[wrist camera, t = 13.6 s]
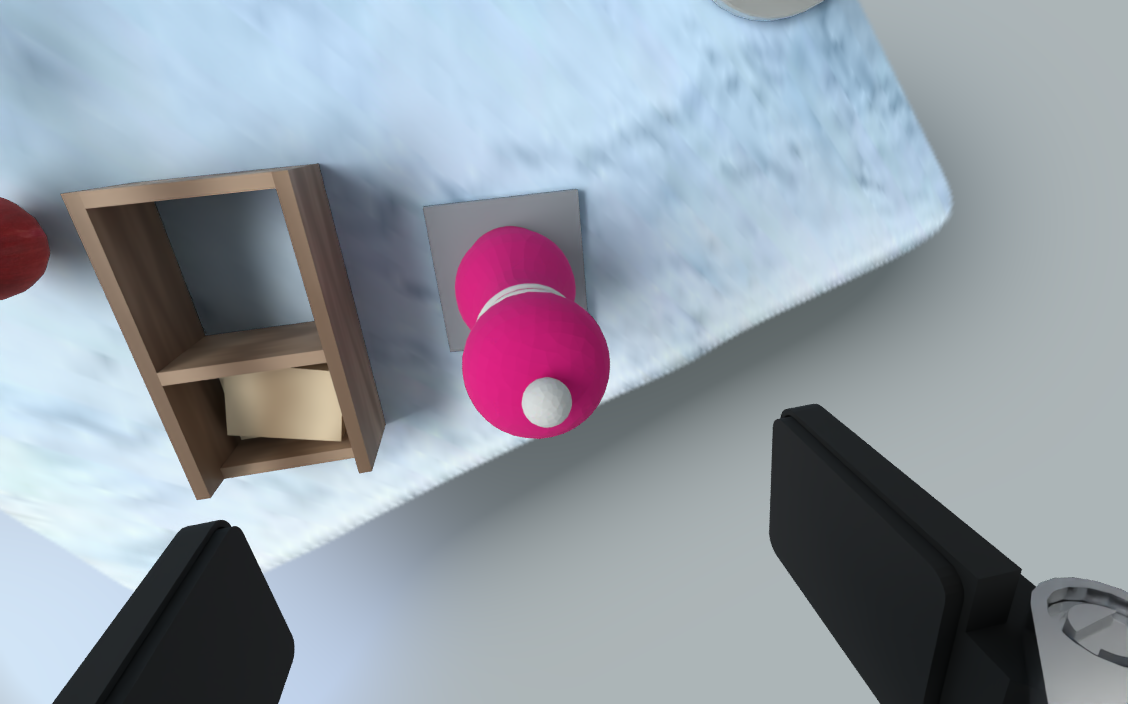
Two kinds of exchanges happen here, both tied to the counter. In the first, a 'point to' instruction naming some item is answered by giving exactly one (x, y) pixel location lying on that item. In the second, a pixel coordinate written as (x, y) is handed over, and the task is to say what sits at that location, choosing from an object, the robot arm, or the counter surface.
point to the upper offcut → (284, 404)
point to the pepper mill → (528, 336)
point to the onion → (20, 250)
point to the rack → (196, 362)
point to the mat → (470, 220)
